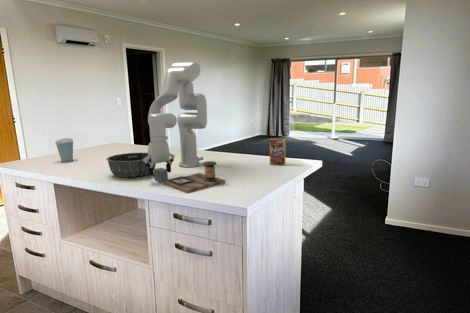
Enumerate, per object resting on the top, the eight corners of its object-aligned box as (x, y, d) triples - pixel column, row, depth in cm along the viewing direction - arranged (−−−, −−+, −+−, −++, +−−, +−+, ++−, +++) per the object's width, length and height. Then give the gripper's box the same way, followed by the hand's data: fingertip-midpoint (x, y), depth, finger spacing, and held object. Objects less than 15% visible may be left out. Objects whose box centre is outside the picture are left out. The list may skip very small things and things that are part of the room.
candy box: (269, 165, 191) (269, 139, 188) (271, 163, 195) (271, 138, 192) (284, 165, 188) (284, 139, 185) (285, 164, 192) (285, 138, 189)
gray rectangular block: (161, 178, 166) (160, 167, 165) (168, 181, 161) (167, 169, 160) (154, 180, 163) (153, 169, 162) (160, 182, 159) (160, 170, 158)
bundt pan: (133, 166, 195) (132, 150, 193) (168, 170, 183) (167, 153, 181) (97, 177, 172) (95, 159, 170) (134, 182, 160) (132, 163, 158)
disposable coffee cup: (68, 163, 210) (65, 140, 207) (54, 162, 211) (50, 140, 208) (79, 159, 220) (76, 137, 217) (64, 159, 222) (62, 137, 219)
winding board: (199, 175, 170) (199, 156, 168) (225, 182, 156) (224, 162, 154) (163, 184, 155) (162, 164, 153) (187, 193, 141) (186, 170, 139)
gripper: (169, 137, 166) (171, 169, 170) (138, 140, 155) (140, 175, 158) (177, 138, 161) (179, 172, 164) (145, 142, 149) (148, 178, 152)
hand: (160, 173), depth 161 cm, fingers open, 9 cm apart
